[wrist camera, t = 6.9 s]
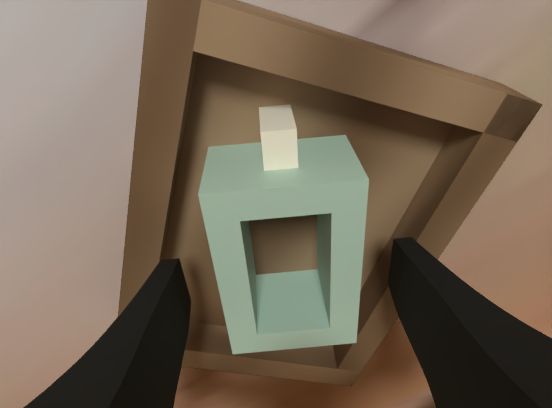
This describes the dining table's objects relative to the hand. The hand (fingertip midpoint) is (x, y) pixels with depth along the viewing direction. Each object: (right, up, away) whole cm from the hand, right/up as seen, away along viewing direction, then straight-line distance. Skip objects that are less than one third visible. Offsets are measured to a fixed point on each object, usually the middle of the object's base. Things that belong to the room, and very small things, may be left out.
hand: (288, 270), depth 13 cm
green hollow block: (0, +2, +2) cm, 2 cm away
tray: (0, +2, +2) cm, 3 cm away
